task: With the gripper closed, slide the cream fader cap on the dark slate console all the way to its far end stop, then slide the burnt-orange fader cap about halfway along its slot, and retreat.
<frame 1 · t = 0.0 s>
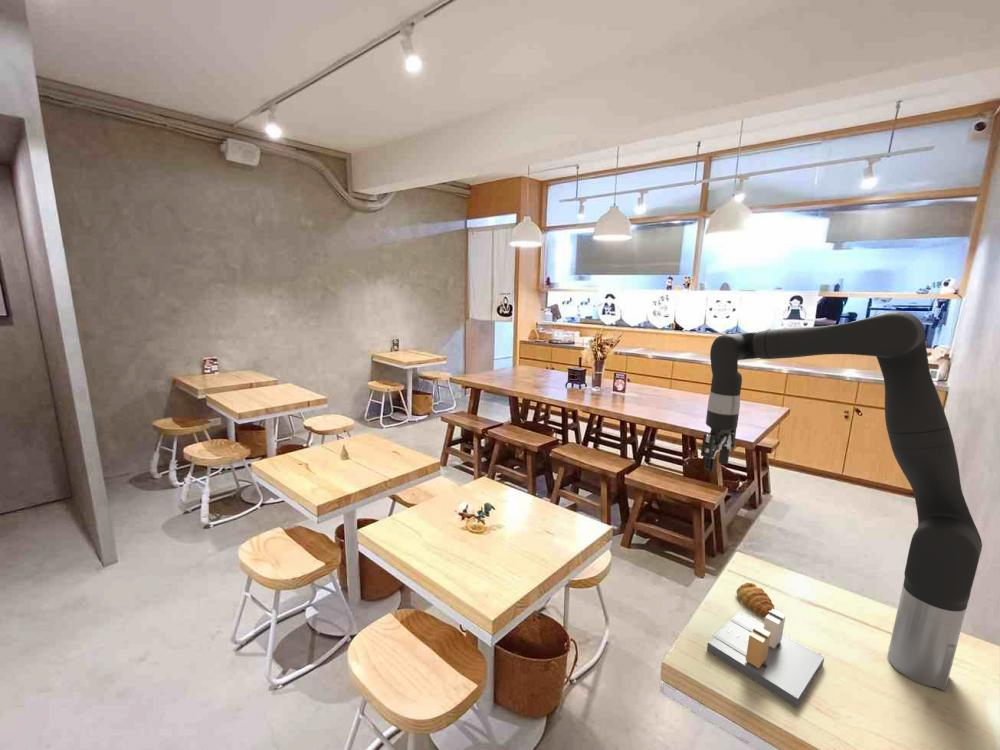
hand: (716, 467, 121), 29 cm above the table, fingers open, 8 cm apart
console: (763, 657, 95), on the table
pastry: (755, 605, 111), on the table
orange fader: (758, 645, 91), point 6 cm above the table, slide at 0.0 cm
cream fader: (773, 627, 96), point 6 cm above the table, slide at 0.0 cm
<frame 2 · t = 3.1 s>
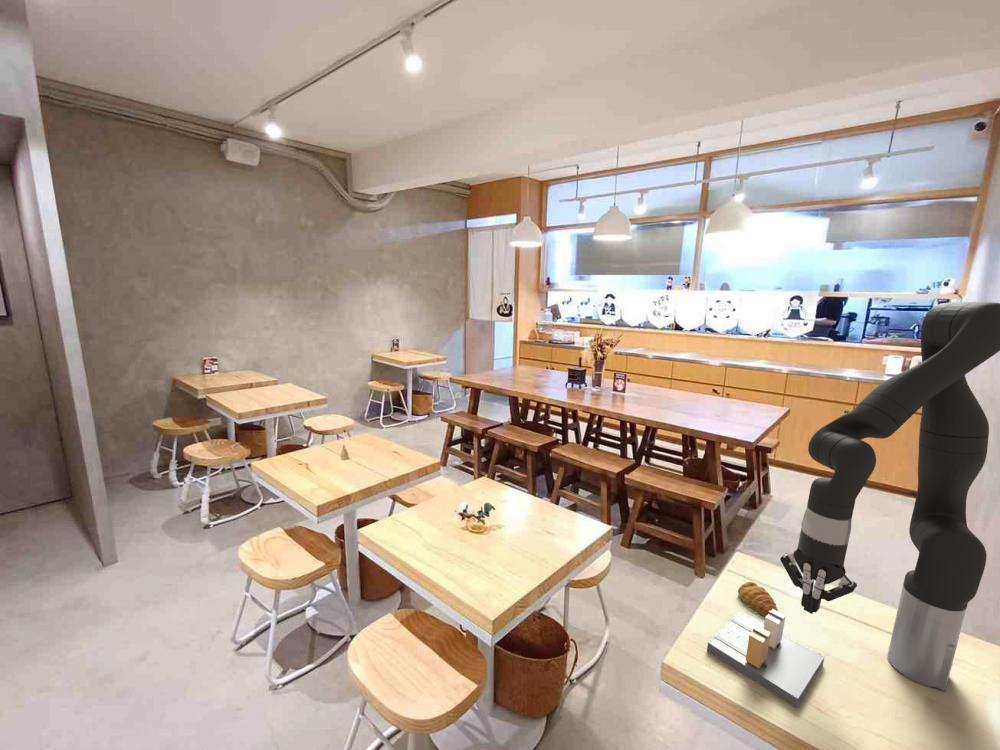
hand: (809, 610, 90), 13 cm above the table, fingers closed
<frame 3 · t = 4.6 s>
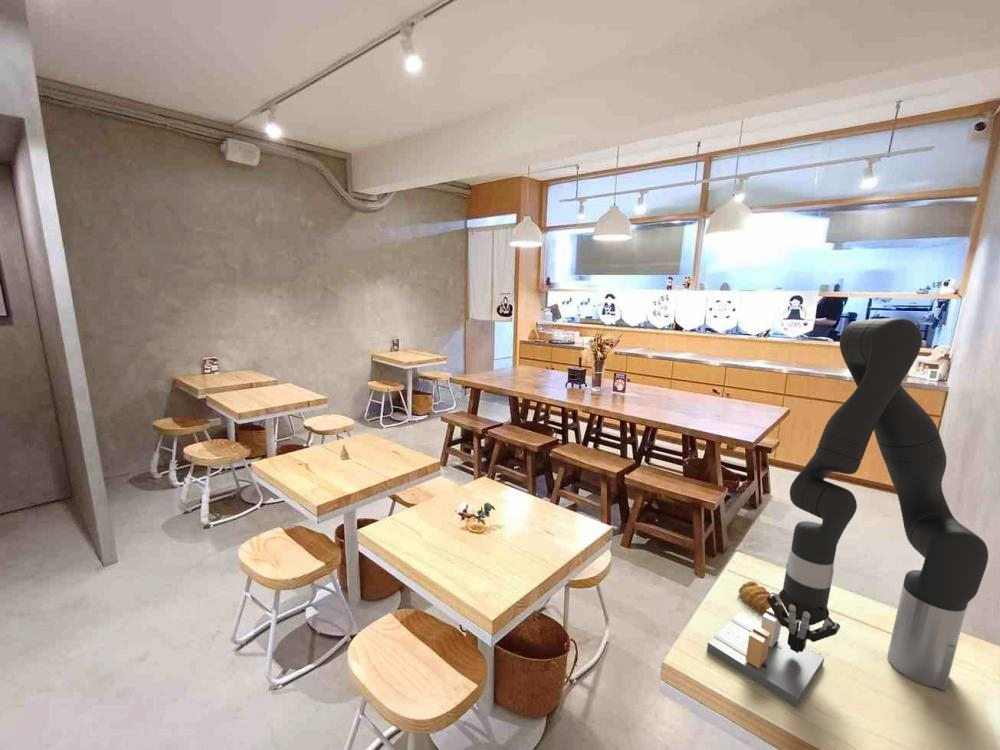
hand: (795, 649, 93), 4 cm above the table, fingers closed
cream fader: (771, 626, 96), point 6 cm above the table, slide at 0.5 cm, touching hand
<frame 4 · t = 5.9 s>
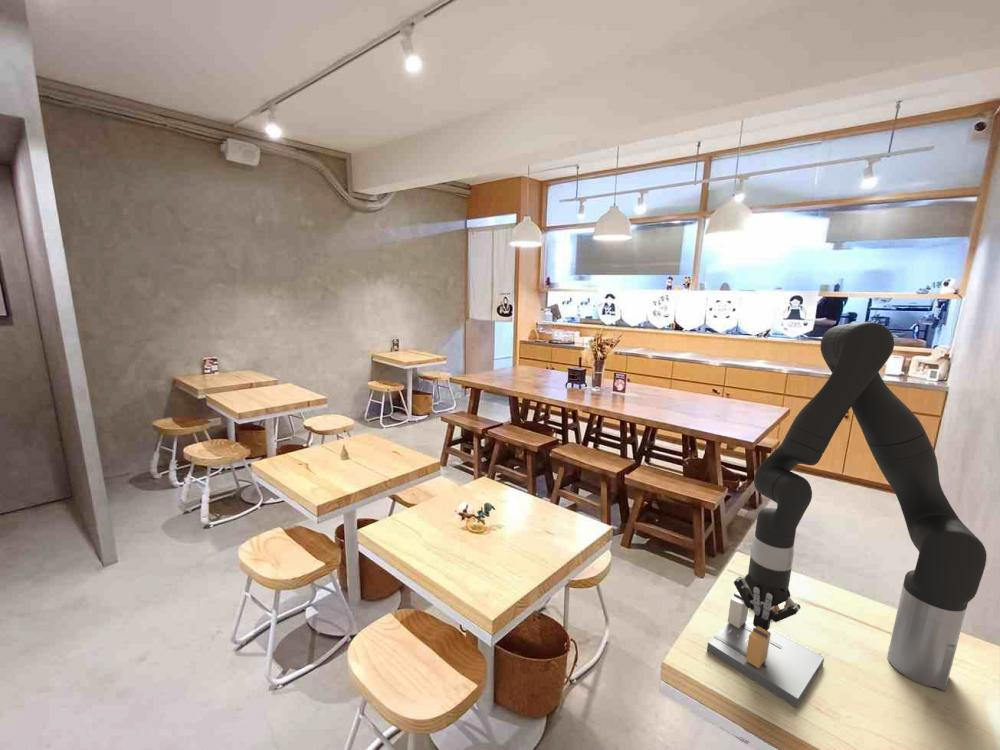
hand: (760, 629, 98), 4 cm above the table, fingers closed
cream fader: (738, 608, 101), point 6 cm above the table, slide at 7.2 cm, touching hand
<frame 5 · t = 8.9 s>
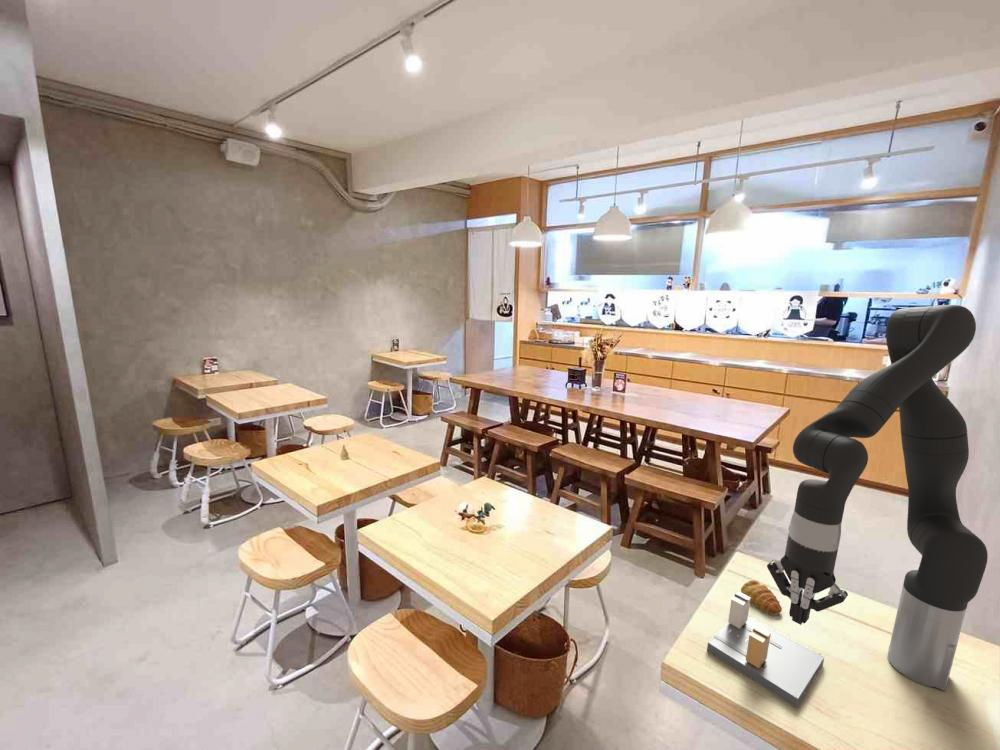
hand: (797, 620, 85), 15 cm above the table, fingers closed
cream fader: (739, 609, 101), point 6 cm above the table, slide at 7.1 cm
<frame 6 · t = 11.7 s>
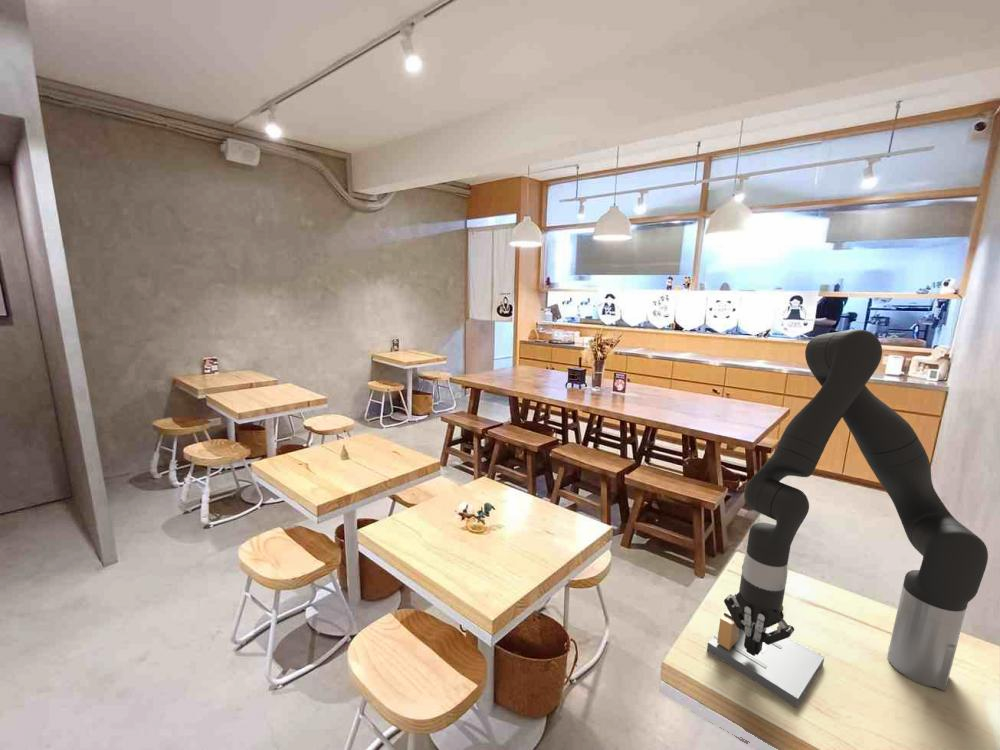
hand: (751, 651, 92), 4 cm above the table, fingers closed
orange fader: (729, 628, 95), point 6 cm above the table, slide at 5.8 cm, touching hand
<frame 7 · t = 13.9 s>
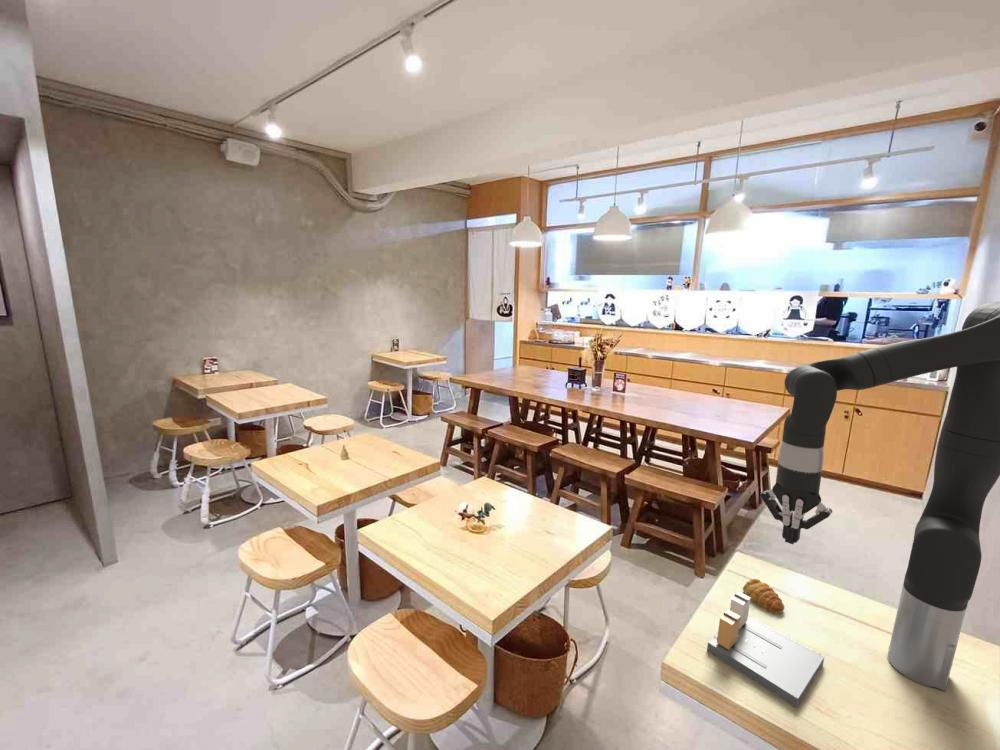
hand: (790, 541, 94), 24 cm above the table, fingers closed
orange fader: (728, 628, 95), point 6 cm above the table, slide at 5.9 cm
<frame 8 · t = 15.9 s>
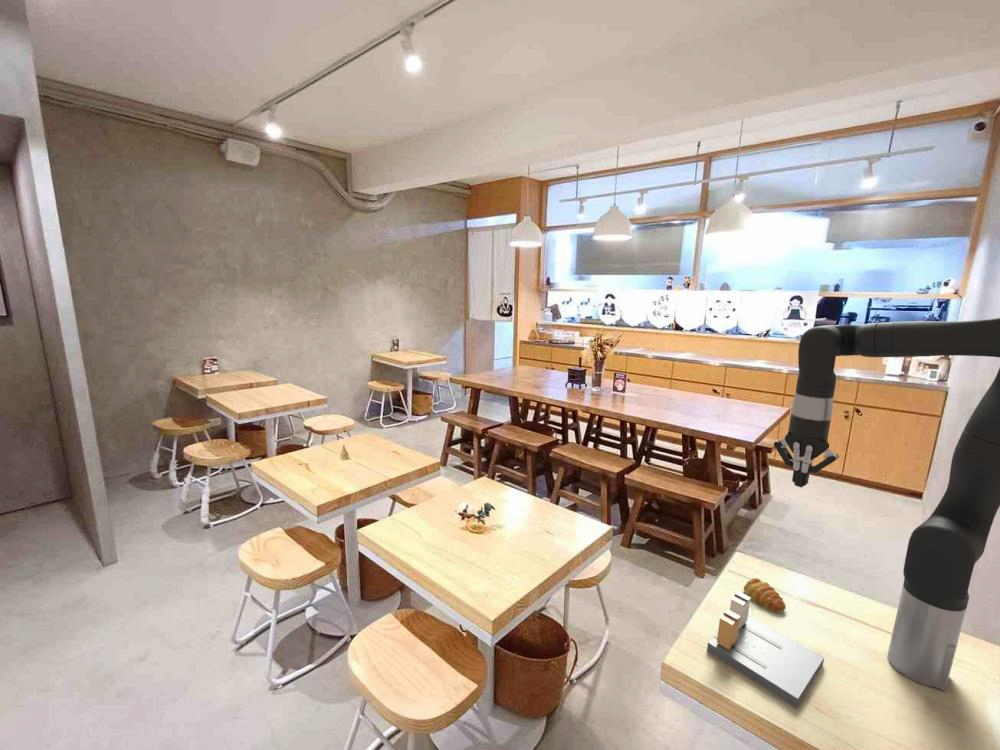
hand: (799, 485, 104), 32 cm above the table, fingers closed
at the end: cream fader slide at 7.1 cm; orange fader slide at 5.9 cm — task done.
